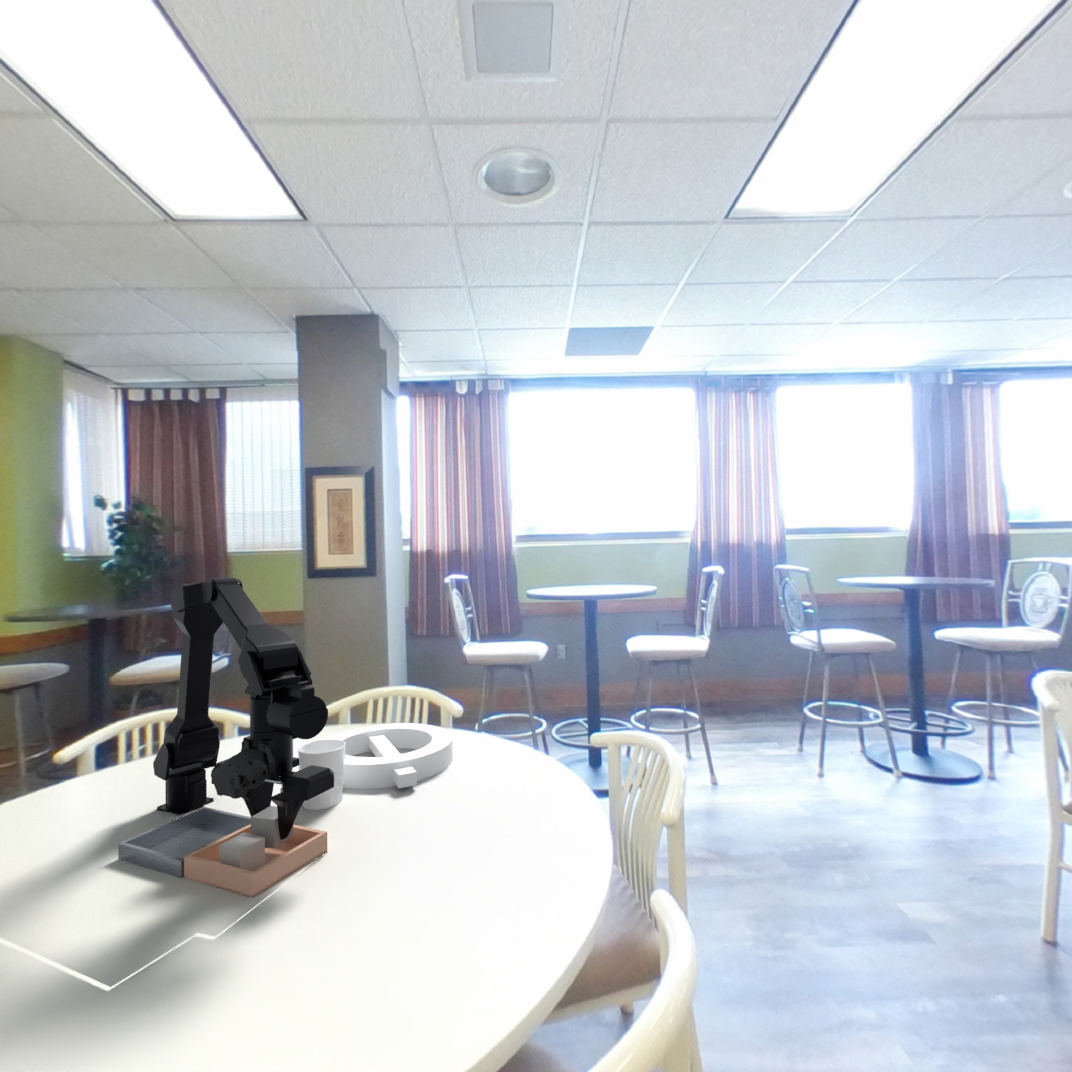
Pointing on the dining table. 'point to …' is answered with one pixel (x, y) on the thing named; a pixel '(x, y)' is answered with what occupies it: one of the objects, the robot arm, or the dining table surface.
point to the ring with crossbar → (394, 754)
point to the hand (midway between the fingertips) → (272, 835)
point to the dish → (276, 867)
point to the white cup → (329, 757)
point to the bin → (179, 839)
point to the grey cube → (268, 827)
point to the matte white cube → (243, 852)
